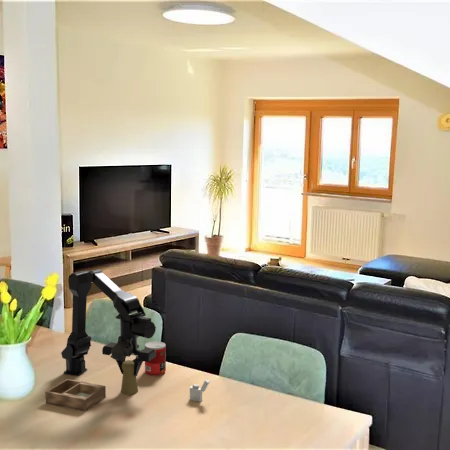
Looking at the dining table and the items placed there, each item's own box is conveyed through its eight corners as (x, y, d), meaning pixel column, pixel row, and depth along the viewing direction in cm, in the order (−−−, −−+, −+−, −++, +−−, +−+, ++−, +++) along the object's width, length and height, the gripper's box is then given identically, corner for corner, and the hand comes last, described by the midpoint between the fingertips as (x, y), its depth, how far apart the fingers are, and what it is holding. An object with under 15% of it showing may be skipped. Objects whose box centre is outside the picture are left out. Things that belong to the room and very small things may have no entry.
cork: (134, 395, 214) (134, 365, 213) (118, 393, 215) (117, 363, 214) (140, 388, 220) (140, 359, 218) (124, 386, 221) (124, 357, 220)
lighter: (189, 399, 211) (189, 377, 210) (191, 397, 213) (191, 375, 212) (207, 403, 208) (208, 381, 207) (210, 401, 210) (210, 379, 209)
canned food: (164, 376, 231) (164, 348, 230) (143, 375, 231) (143, 347, 230) (166, 368, 239) (166, 341, 237) (146, 368, 239) (146, 340, 237)
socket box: (45, 402, 208) (45, 391, 207) (67, 389, 219) (67, 378, 218) (85, 411, 202) (85, 399, 201) (105, 397, 213) (105, 386, 212)
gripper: (92, 335, 211) (93, 379, 213) (140, 343, 204) (141, 387, 206) (110, 326, 221) (111, 367, 223) (156, 333, 214) (156, 375, 216)
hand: (129, 374), depth 217 cm, fingers closed on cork, 5 cm apart
